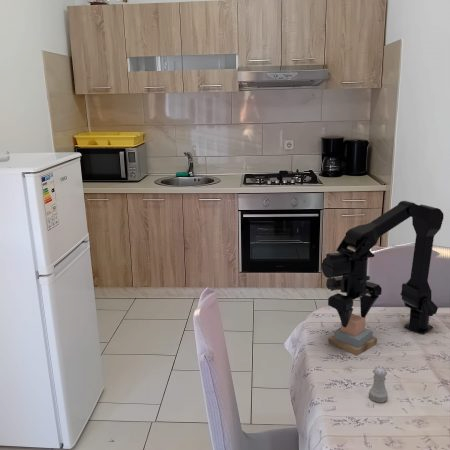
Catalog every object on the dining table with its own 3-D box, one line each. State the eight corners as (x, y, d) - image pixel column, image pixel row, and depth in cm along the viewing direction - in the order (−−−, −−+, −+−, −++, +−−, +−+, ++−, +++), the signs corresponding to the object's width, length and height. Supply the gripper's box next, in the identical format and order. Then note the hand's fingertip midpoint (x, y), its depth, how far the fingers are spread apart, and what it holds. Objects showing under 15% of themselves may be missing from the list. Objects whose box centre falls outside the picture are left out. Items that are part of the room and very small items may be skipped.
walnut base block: (348, 334, 148) (348, 327, 147) (376, 346, 140) (377, 338, 140) (328, 345, 141) (328, 337, 141) (356, 358, 134) (357, 350, 133)
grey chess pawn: (388, 404, 112) (391, 374, 110) (369, 402, 113) (371, 372, 111) (386, 393, 116) (388, 364, 114) (367, 391, 117) (369, 363, 115)
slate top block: (347, 329, 145) (348, 322, 145) (371, 338, 140) (372, 330, 139) (334, 339, 140) (334, 331, 139) (358, 348, 134) (358, 340, 134)
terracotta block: (350, 325, 143) (350, 313, 142) (364, 330, 139) (365, 318, 138) (340, 330, 140) (341, 318, 139) (355, 336, 136) (356, 323, 135)
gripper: (352, 258, 147) (349, 305, 151) (313, 273, 135) (312, 322, 139) (384, 267, 138) (380, 316, 142) (346, 283, 127) (343, 335, 131)
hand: (353, 322), depth 139 cm, fingers open, 9 cm apart
